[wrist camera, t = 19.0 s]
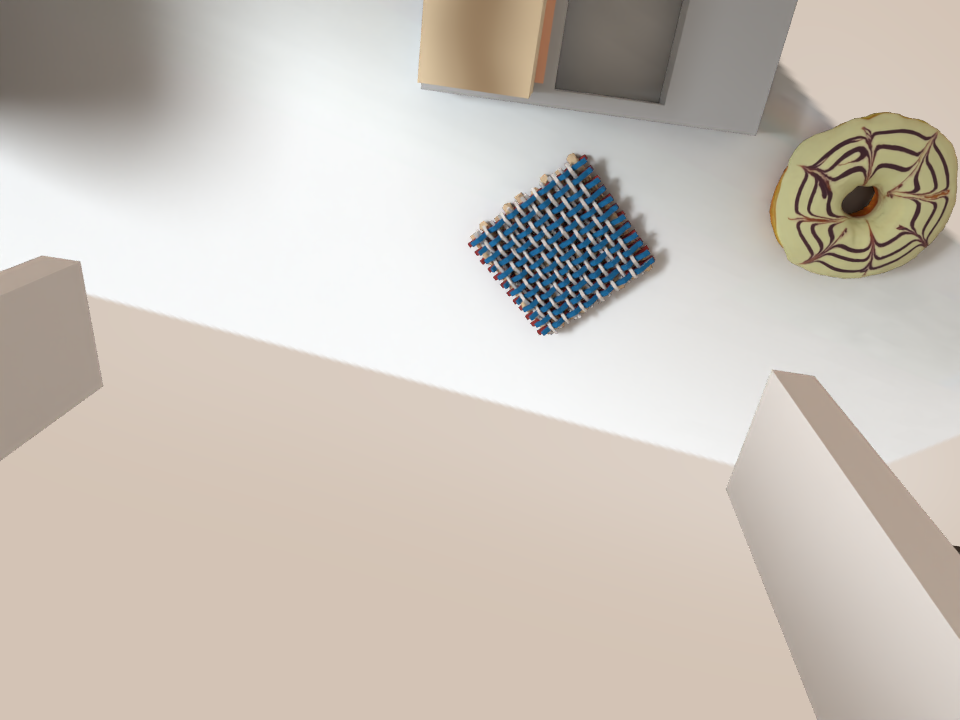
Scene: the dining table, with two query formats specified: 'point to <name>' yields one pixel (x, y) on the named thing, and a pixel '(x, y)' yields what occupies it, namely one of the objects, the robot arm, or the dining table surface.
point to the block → (481, 45)
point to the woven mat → (571, 263)
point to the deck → (682, 67)
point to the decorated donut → (894, 207)
